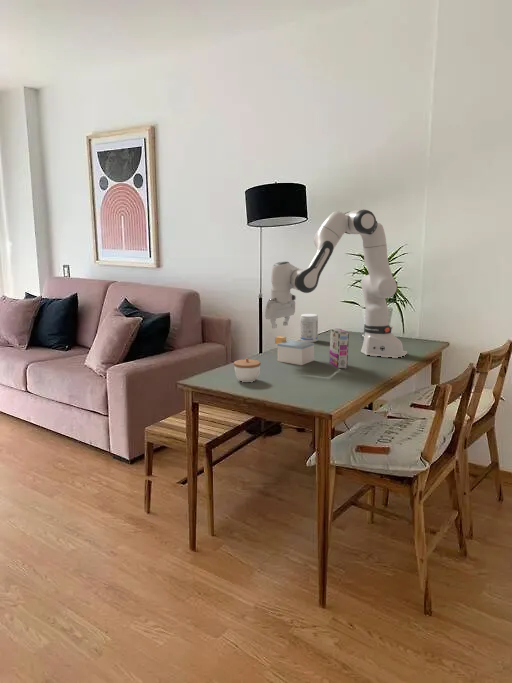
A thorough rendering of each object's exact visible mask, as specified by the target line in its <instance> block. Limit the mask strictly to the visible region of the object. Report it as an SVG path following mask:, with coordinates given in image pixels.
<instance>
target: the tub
mask: <svg viewBox="0 0 512 683" xmlns="http://www.w3.org/2000/svg"><path fill="white" fill-rule="evenodd" d="M276 352H277V360H276V361H277V362H280V363H286V364H293V365H298V366H303V365H306V364H309V363H311V362H314V360H315V344H314V345H313V346H310V347H307V348H304V349H296V348H289V347H282V346H278V345H277V351H276Z"/></svg>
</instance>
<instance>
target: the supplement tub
mask: <svg viewBox="0 0 512 683" xmlns="http://www.w3.org/2000/svg"><path fill="white" fill-rule="evenodd" d="M318 321H319V318H318V314H316V313H302V314H301V315H300V341H302V342H310V343H315V342H317V341H319V340H318V337H319V333H318V331H319V329H318V328H319V322H318Z"/></svg>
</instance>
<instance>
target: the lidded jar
mask: <svg viewBox="0 0 512 683" xmlns="http://www.w3.org/2000/svg"><path fill="white" fill-rule="evenodd" d="M233 366H234V374H235V377H236V378H237V379H238V380H239V382H240V381H242V382H241V383H243V382H251V383H254V382H255V381H256V379H258V377H259V375H260V372H261V361H260V360H257V359H250V358H248V357H246V358H245V359H238V360H235V361H234V362H233ZM253 381H254V382H253Z"/></svg>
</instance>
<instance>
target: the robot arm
mask: <svg viewBox="0 0 512 683" xmlns="http://www.w3.org/2000/svg"><path fill="white" fill-rule="evenodd" d="M345 234H346V235H360V237H361V239H362V250H363V258H364V259H363V260H364V266H366V268H367V272H368V274H367V275H365V276H363V277H362V279H361V282H360V287H361V289H362V293H363V300H364V305H365V319H364V320H365V321H364V323H365V324H363V325H364V326H363V336H364V338H363V342H362V347H361V350H360V352H361V353H362V354H364V355H365V356H367V355H370V356H369V357H377V356H381V358H388V357H392V358H391V359H399V358H398V357H401V358H403V357H402V356H404V357H406V356H407V355H408V351H407V350H404V348H403V343H402V341H401V340H400V339H399V338H398V337H396V336H395V334H393V333H392V330H393V326H390V325H389V312H390V311H389V307H388V304H387V300H386V299H387V298H391V297H393V296H394V295H395V293H396V292H397V289H398V285H397V284H398V283H397V282H396V280H395V279H394V277H393V273H392V270H391V266H390V263H389V258H388V256H389V255H388V247H387V236H386V233H385V228H384V226H383V225H382V224H381V223H380V222H378V220H377V217H376V216H375V214H374V213H373V212H372V211H370V210H368V209H355V210H352V211H347V212H342V211H339V210H338V211H337V210H335V211H332V212H331V213H330V214H329V215H328V216H327V217H326V219H325V220H324V221H323V222H322V223H321V225H320V226H319V227H318V229H317V231H316V232H315V234H314V237H313V243H314V246H315V247H316V252H315V254H314V256H313V258H312V260H311V262H310V263H309V265H308V267H306V268H305V269H301V268H299V267H297V266H295V265H293V264H291V263H290V262H289V261H279V262H276V263H274V264H273V266H272V269H271V291H270V298H269V299H268V301H267V302H266V305H265V312H264V313H265V314H264V317H265V319H266V320H270V324H271V328H272V329H277V327H278V324H277V323H276V322H277V319H280V318H284V321H283V322H282V326H284V327H287V326H289V325H288V324H289V320H290V316H294V314H295V312H296V299H297V296H296V295H295V294H293V293H291V290H292V289H294V290H296V291H299V292H302V293H303V294H309V293H311V292H313V291H315V290H316V288H317V286H318V284H319V280H320V276H321V274H322V272H323V270H324V269H325V267H326V266H327V264H328V262H329V260H330V259H331V256H332V254H333V253H334V249H335V248H336V246H337V245H338V243H339V242H340V241H341V238H342V237H343V236H344V235H345ZM406 354H407V355H406ZM405 355H406V356H405Z"/></svg>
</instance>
